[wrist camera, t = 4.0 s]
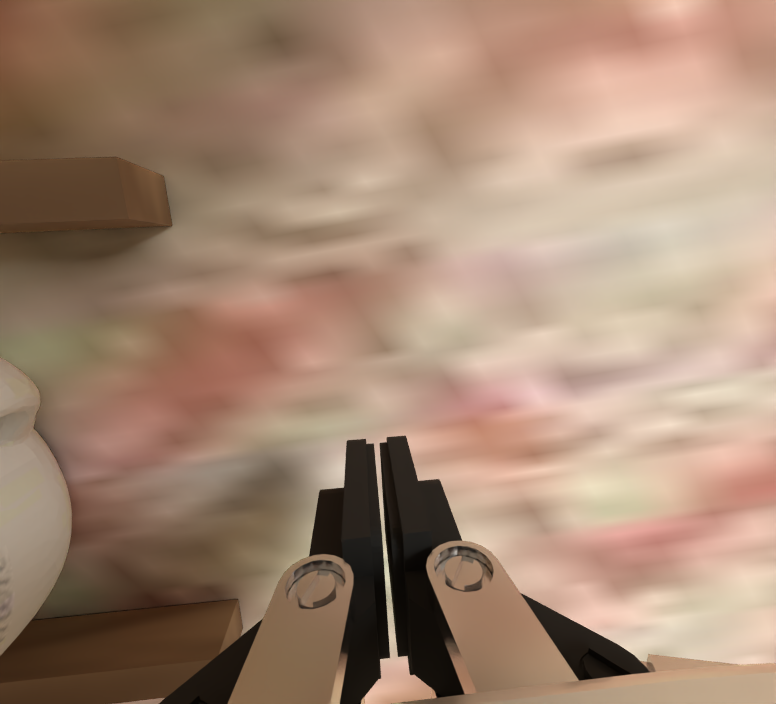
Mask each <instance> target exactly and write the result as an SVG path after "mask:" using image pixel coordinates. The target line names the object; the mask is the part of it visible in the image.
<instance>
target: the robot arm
mask: <svg viewBox="0 0 776 704" xmlns="http://www.w3.org/2000/svg"><path fill="white" fill-rule="evenodd" d="M380 456H381V472H382V488H383V504H384V520H385V534H386V545H387V554H388V564H389V574H390V584H391V593H392V603H393V613H394V623H395V633H396V642H397V652H398V657H401V656H408V663H409V671H410V675H414V674H415V675H416V676H417V677H418V678H419V679H421V680H422V681H423V682H424V683H426V684H427V685H428V686H429V687H430V693H431V699H425V700H417V701H409V702H401V703H393V704H776V663H766V664H747V665H738V664H729V663H720V662H712V661H703V660H694V659H685V658H676V657H668V656H659V655H650V654H648V658H647V662H644V661H639V660H638V659H637V658H636V657H635V656H634V655H633V654H631V653H630V652H628V651H627V650H625V649H624V648H622V647H621V646H619V645H618V644H616V643H614V642H612V641H610V640H608V639H606V638H604V637H603V636H601V635H599V634H597V633H595V632H593V631H591V630H589V629H587V628H586V627H584V626H582V625H580V624H578V623H576V622H574V621H572V620H570V619H569V618H567V617H565V616H563V615H561V614H559V613H557V612H555V611H554V610H552V609H550V608H548V607H546V606H544V605H542V604H540V603H538V602H537V601H535V600H533V599H531V598H529V597H527V596H525V595H523V594H521V593H520V592H519V590H518V589H517V587H516V586H515V585H514V583H513V582H512V580H511V579H510V577H509V576H508V574H507V573H506V571H505V570H504V568H503V567H502V565H501V564H500V562H499V561H498V559H497V558H496V557H495V556H494V555H493V554H492V553H491V552H490V551H489V550H487V549H486V548H484V547H483V546H481V545H478V544H475V543H473V542H468V541H462V539H461V536H460V534H459V531H458V528H457V525H456V523H455V520H454V517H453V515H452V512H451V509H450V506H449V504H448V501H447V498H446V496H445V493H444V490H443V487H442V485H441V482H440V480H439V479H436V480H425V481H418V479H417V475H416V471H415V468H414V464H413V460H412V457H411V453H410V449H409V446H408V442H407V438H406V436H396V437H387V442H386V443H380ZM384 658H390V652H389V636H388V621H387V606H386V590H385V575H384V559H383V545H382V531H381V520H380V509H379V497H378V486H377V475H376V464H375V452H374V444H366V439H360V440H348V441H347V446H346V464H345V483H344V488H336V489H325V490H320V492H319V498H318V504H317V510H316V516H315V523H314V529H313V535H312V542H311V548H310V554H309V557H307V558H304V559H302V560H300V561H298V562H297V563H295V564H293V565H292V566H291V567H290V568H289V569H288V570H287V571H286V572H285V573H284V574H283V576H282V577H281V579H280V581H279V582H278V585H277V587H276V589H275V592H274V594H273V597H272V599H271V601H270V604H269V606H268V608H267V611H266V613H265V616H264V618H263V619H262V620H261V621H260V622H258V623H257V624H256V625H255V626H253V627H252V628H251V629H250V630H249V631H247V632H246V633H245V634H244V635H242V636H241V637H240V638H239V639H237V640H236V641H235V642H234V643H233V644H231V645H230V646H229V647H228V648H226V649H225V650H224V651H223V652H221V653H220V654H219V655H218V656H217V657H215V658H214V659H213V660H212V661H210V662H209V663H208V664H207V665H206V666H204V667H203V668H202V669H201V670H199V671H198V672H197V673H196V674H194V675H193V676H192V677H191V678H190V679H188V680H187V681H186V682H185V683H183V684H182V685H181V686H180V687H178V688H177V689H176V690H175V691H174V692H172V693H171V694H170V695H169V696H167V697H166V698H165V699H164V700H163V701H162V702H161V703H160V704H365V699H364V696H365V695H366V694H367V693H368V691H369V690H370V689H371V688H372V686H373V685H374V684H375V683H376V681H377V680H378V679H381V671H380V659H384Z"/></svg>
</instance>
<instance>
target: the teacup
mask: <svg viewBox="0 0 776 704" xmlns="http://www.w3.org/2000/svg"><path fill="white" fill-rule="evenodd" d="M40 405H41V402H40V392H39V390H38V389H37V387H36V385H35V384H34V383H33V382H32V380H31V379H30V378H29V377H28V376H27V375H25V374H24V373H23V372H22V371H21V370H20V369H18V368H17V367H15V366H14V365H12V364H11V363H9V362H8V361H6V360H4V359H2V358H1V357H0V656H1V655H2V653H3V652H4V651H5V650H6V649H7V648H8V647H9V646H10V644H11V643H12V642H13V641H14V640H15V639H16V638H17V637H18V635H19V634H20V633H21V632H22V631H23V629H24V628H25V627H26V626H27V624H28V623H29V622H30V621H31V620H32V618H33V617H34V616H35V615H36V613H37V612H38V610H39V609H40V607H41V606H42V605H43V603H44V602H45V600H46V599H47V597H48V595H49V594H50V592H51V590H52V589H53V587H54V585H55V583H56V581H57V579H58V577H59V575H60V573H61V571H62V569H63V566H64V563H65V560H66V557H67V554H68V550H69V544H70V539H71V532H72V508H71V501H70V497H69V492H68V488H67V485H66V482H65V479H64V476H63V474H62V472H61V470H60V467H59V465H58V463H57V461H56V459H55V457H54V456H53V454H52V452H51V451H50V449H49V447H48V446H47V444H46V442H45V441H44V440H43V439H42V437H41V436H40V435H39V434H38V433H37V431H36V430H35V429H34V428H33V427H34V423H35V418H36V413H37V411H38V409H39V408H40Z"/></svg>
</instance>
